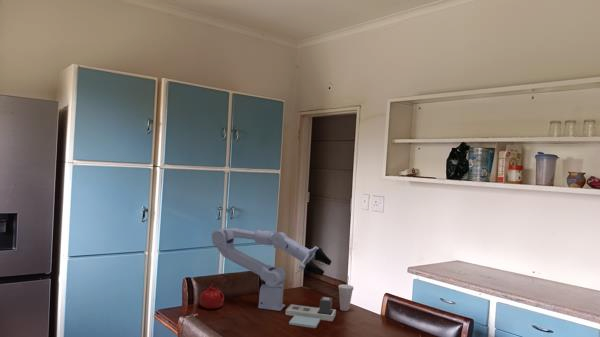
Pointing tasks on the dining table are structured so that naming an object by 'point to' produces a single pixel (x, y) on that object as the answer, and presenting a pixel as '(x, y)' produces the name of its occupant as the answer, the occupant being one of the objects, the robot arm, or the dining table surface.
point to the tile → (304, 321)
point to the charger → (325, 306)
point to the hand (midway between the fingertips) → (327, 268)
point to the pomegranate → (211, 298)
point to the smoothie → (345, 296)
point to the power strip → (309, 312)
